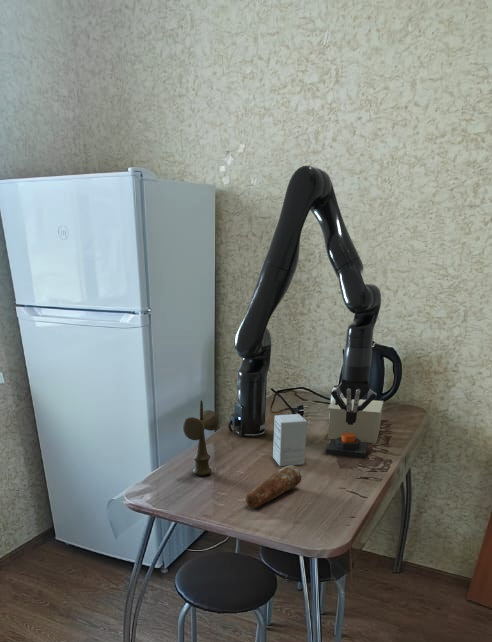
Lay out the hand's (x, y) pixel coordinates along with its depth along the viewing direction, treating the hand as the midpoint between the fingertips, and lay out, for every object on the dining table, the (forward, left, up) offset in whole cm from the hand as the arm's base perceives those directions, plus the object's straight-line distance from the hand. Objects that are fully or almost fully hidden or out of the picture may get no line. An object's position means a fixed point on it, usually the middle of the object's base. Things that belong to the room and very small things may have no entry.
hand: (350, 424), depth 166 cm
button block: (0, 0, -8) cm, 8 cm away
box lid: (+10, +13, +1) cm, 17 cm away
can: (+14, +27, -9) cm, 32 cm away
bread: (-35, -22, -9) cm, 42 cm away
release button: (0, 0, -5) cm, 5 cm away
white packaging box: (-20, -1, -9) cm, 22 cm away
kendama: (-46, -1, -9) cm, 47 cm away
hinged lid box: (+11, +13, -8) cm, 19 cm away
